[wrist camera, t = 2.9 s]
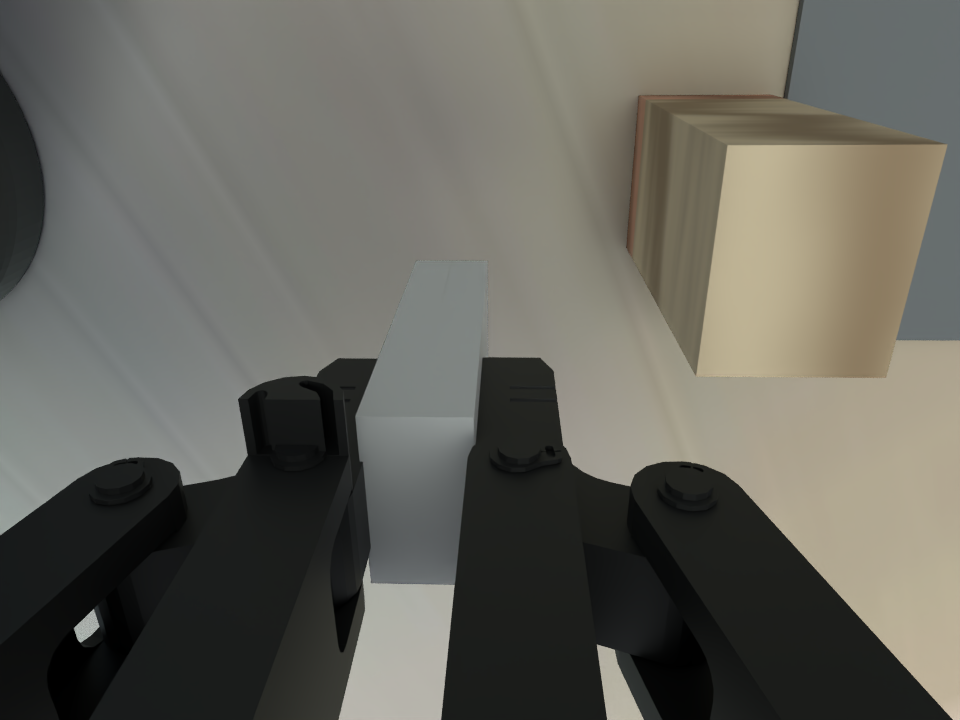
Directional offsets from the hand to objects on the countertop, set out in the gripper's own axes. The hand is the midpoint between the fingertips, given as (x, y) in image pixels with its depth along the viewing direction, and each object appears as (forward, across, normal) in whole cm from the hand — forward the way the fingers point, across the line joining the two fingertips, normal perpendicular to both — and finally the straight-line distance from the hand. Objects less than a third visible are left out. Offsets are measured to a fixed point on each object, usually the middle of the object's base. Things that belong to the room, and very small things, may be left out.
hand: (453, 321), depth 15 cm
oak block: (+15, +9, 0) cm, 17 cm away
